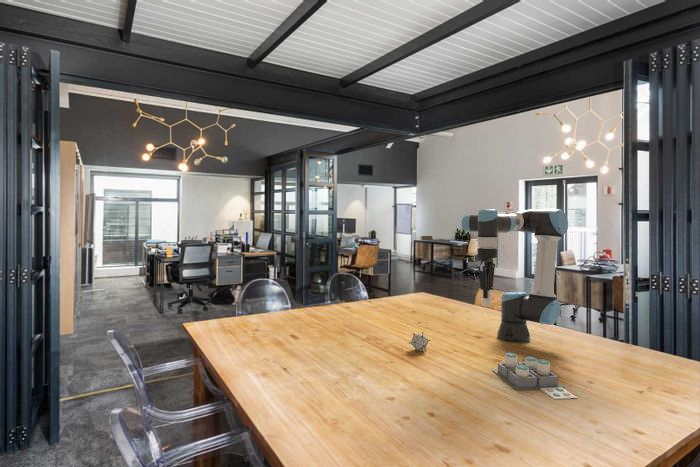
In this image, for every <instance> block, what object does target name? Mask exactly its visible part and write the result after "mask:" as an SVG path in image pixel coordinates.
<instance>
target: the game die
mask: <svg viewBox="0 0 700 467" xmlns="http://www.w3.org/2000/svg"><path fill="white" fill-rule="evenodd" d="M412 335H413V336H412V337H411V340H410V342H408V344H411V346H412V347H413V348H414V350H415V352H416V353H417V352H418V351H427V346H428V344H429V342H431V339H428V338H427V337H426V336H425V335H424V331H422V333H414V332H413V333H412Z"/></svg>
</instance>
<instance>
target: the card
mask: <svg viewBox="0 0 700 467" xmlns="http://www.w3.org/2000/svg"><path fill="white" fill-rule="evenodd" d="M539 390H541V391H542V392H543V393H545V394H546V395H548V396H549V397H550V398H552V399H553V400H571V398H575V399H578V397H577V396H576V395H574V394H573V393H571V392H570V391H568V390H566V388H562V387H555V388H540V389H539Z"/></svg>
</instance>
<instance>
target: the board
mask: <svg viewBox="0 0 700 467" xmlns="http://www.w3.org/2000/svg"><path fill="white" fill-rule="evenodd" d="M517 365H525V361H519V362H518V361H517ZM536 369H537V368H529V377H518V376H517V375H516V369H508V368H506V367H505V362H497V369H492V372H493V373H495V375H496V376H498V377H499V378H500V379H502V380H503V381H504V382H505V383H506V384H508V385H509V386H510V387H511V388H513V389H514V390H515V391H528V390H531V391H533V390H535V391H536V390H541V389H540V388H555V387H562V388H564V389H566V388H565V386H564V385H562V384H560V383H559V376H558V375H556V374H554V372H552V371H550V376H539V375H538V374H536Z"/></svg>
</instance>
